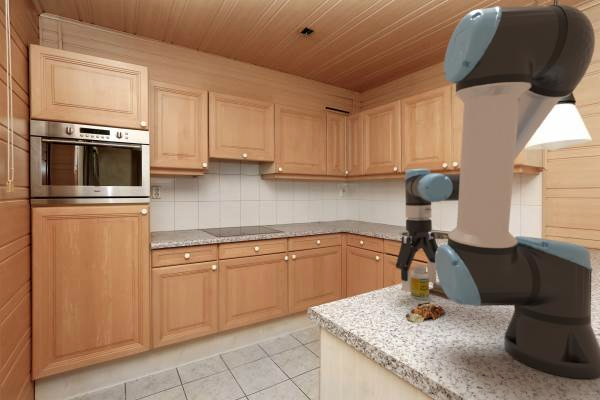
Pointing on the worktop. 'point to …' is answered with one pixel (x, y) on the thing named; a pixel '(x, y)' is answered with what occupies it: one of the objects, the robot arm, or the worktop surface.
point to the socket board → (438, 290)
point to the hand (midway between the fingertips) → (419, 286)
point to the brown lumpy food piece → (424, 312)
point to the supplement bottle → (419, 283)
